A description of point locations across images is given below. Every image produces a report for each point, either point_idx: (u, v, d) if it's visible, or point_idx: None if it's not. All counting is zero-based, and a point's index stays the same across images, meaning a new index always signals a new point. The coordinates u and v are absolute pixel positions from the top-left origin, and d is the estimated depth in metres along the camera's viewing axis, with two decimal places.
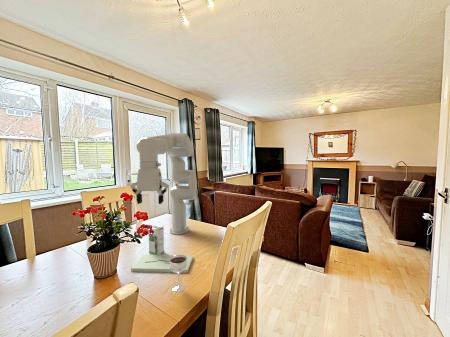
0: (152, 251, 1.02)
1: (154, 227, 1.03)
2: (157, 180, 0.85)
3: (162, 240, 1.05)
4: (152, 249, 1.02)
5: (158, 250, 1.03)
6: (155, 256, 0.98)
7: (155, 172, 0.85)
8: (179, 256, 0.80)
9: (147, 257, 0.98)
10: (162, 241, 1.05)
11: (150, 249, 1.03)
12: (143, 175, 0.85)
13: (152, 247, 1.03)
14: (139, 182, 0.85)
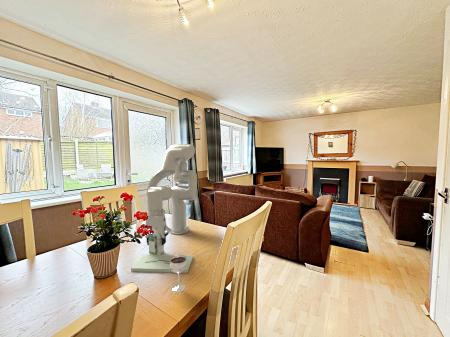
0: (152, 251, 1.02)
1: None
2: (162, 225, 1.02)
3: None
4: (152, 249, 1.02)
5: (158, 249, 1.03)
6: (155, 256, 0.98)
7: (160, 218, 1.02)
8: (179, 256, 0.80)
9: (147, 257, 0.98)
10: None
11: (150, 249, 1.03)
12: (151, 221, 1.02)
13: (152, 247, 1.03)
14: None
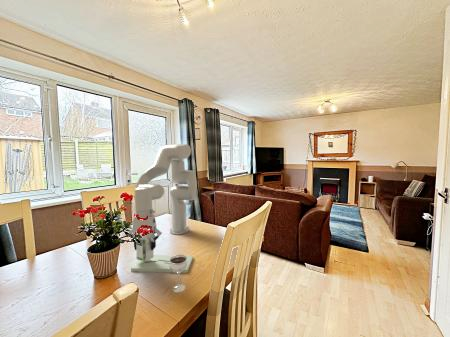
0: (140, 257, 0.91)
1: None
2: None
3: None
4: (140, 254, 0.91)
5: (147, 255, 0.92)
6: (155, 256, 0.98)
7: (149, 220, 0.91)
8: (179, 256, 0.80)
9: None
10: None
11: (138, 254, 0.92)
12: (139, 223, 0.91)
13: (139, 252, 0.91)
14: (134, 228, 0.91)
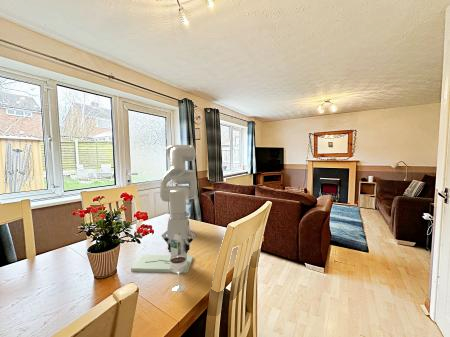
0: None
1: None
2: (186, 230, 0.90)
3: None
4: None
5: None
6: (155, 256, 0.98)
7: (184, 222, 0.90)
8: (179, 256, 0.80)
9: (147, 257, 0.98)
10: None
11: None
12: (174, 226, 0.90)
13: (174, 255, 0.91)
14: (169, 231, 0.91)
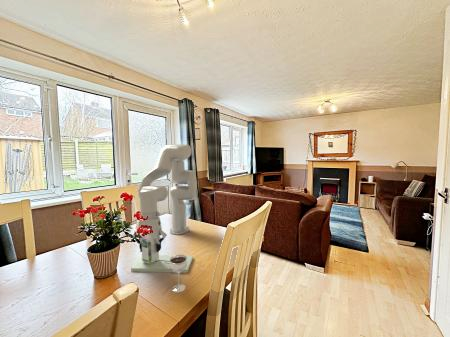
0: (146, 259, 0.91)
1: None
2: (157, 229, 0.91)
3: None
4: (145, 256, 0.91)
5: (152, 257, 0.92)
6: None
7: (155, 222, 0.91)
8: (179, 256, 0.80)
9: None
10: None
11: (143, 256, 0.92)
12: None
13: (145, 254, 0.92)
14: None
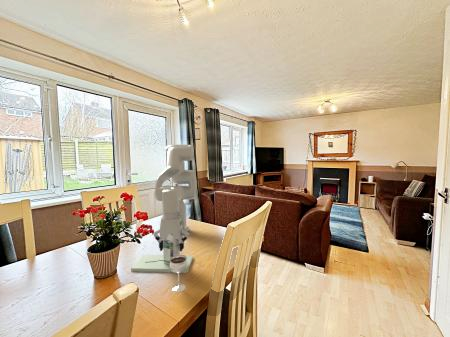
0: (168, 260, 0.91)
1: None
2: (179, 229, 0.90)
3: (178, 247, 0.94)
4: (167, 257, 0.91)
5: None
6: (155, 256, 0.98)
7: (177, 222, 0.90)
8: (179, 256, 0.80)
9: (147, 257, 0.98)
10: (178, 248, 0.94)
11: (165, 257, 0.92)
12: (166, 225, 0.90)
13: (167, 255, 0.91)
14: (161, 231, 0.91)
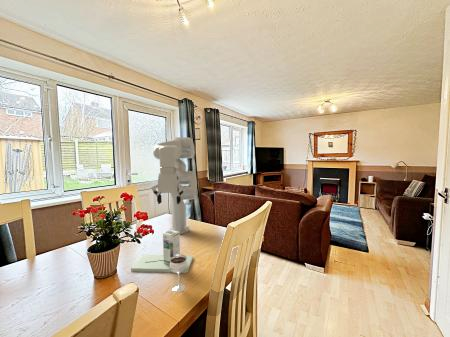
0: (168, 260, 0.91)
1: (169, 233, 0.92)
2: (175, 183, 0.97)
3: (178, 247, 0.94)
4: (167, 257, 0.91)
5: None
6: (155, 256, 0.98)
7: (174, 176, 0.96)
8: (179, 256, 0.80)
9: (147, 257, 0.98)
10: (178, 248, 0.94)
11: (165, 257, 0.92)
12: (163, 179, 0.96)
13: (167, 256, 0.91)
14: (159, 185, 0.97)
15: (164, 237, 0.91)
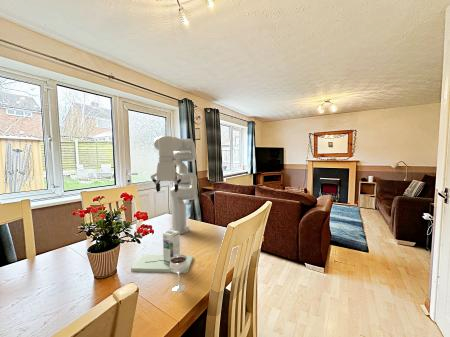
0: (168, 260, 0.91)
1: (169, 233, 0.92)
2: (173, 171, 1.02)
3: (178, 247, 0.94)
4: (167, 257, 0.91)
5: None
6: (155, 256, 0.98)
7: (172, 165, 1.01)
8: (179, 256, 0.80)
9: (147, 257, 0.98)
10: (178, 248, 0.94)
11: (165, 257, 0.92)
12: (162, 168, 1.01)
13: (167, 256, 0.91)
14: (158, 173, 1.02)
15: (164, 237, 0.91)
